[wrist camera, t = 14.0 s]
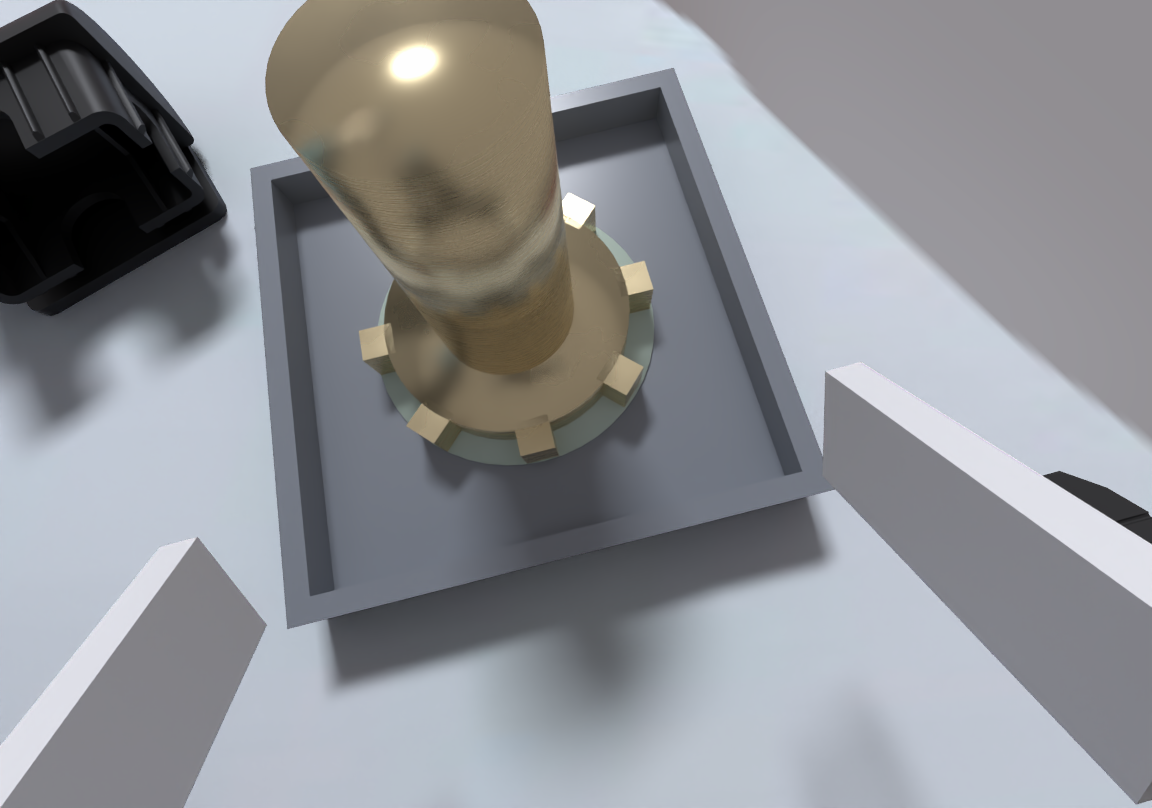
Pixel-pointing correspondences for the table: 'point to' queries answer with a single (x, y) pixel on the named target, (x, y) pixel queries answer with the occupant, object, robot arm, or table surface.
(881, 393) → the robot arm
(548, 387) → the toothed flange peg
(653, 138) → the carrier tray
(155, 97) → the end cap
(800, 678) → the table surface
